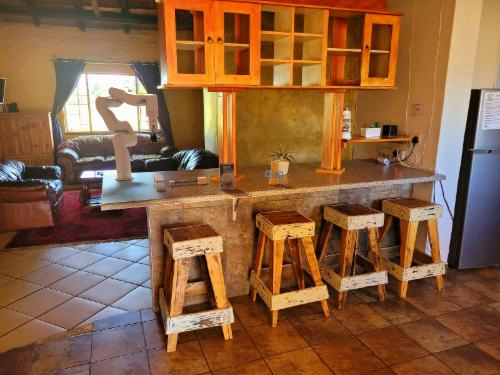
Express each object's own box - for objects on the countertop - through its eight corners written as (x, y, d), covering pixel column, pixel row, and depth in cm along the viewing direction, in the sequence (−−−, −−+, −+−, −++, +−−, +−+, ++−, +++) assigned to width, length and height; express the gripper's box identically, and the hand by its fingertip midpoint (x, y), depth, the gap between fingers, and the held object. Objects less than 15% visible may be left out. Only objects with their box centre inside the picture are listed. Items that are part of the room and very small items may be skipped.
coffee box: (219, 190, 226) (218, 164, 222) (220, 187, 232) (219, 162, 228) (234, 190, 226) (234, 164, 222) (234, 187, 232) (234, 162, 229)
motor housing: (153, 183, 244) (153, 174, 243) (161, 183, 246) (160, 174, 244) (156, 190, 226) (155, 180, 224) (164, 189, 227) (164, 180, 226)
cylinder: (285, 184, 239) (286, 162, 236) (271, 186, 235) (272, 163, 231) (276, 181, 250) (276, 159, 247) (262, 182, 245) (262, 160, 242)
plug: (169, 185, 240) (168, 179, 239) (205, 182, 247) (204, 176, 246) (169, 186, 236) (169, 180, 235) (206, 183, 244) (206, 177, 243)
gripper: (159, 114, 227) (161, 142, 231) (157, 113, 243) (158, 139, 247) (147, 114, 225) (149, 142, 229) (145, 113, 241) (147, 139, 245)
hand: (154, 141), depth 238 cm, fingers open, 9 cm apart
